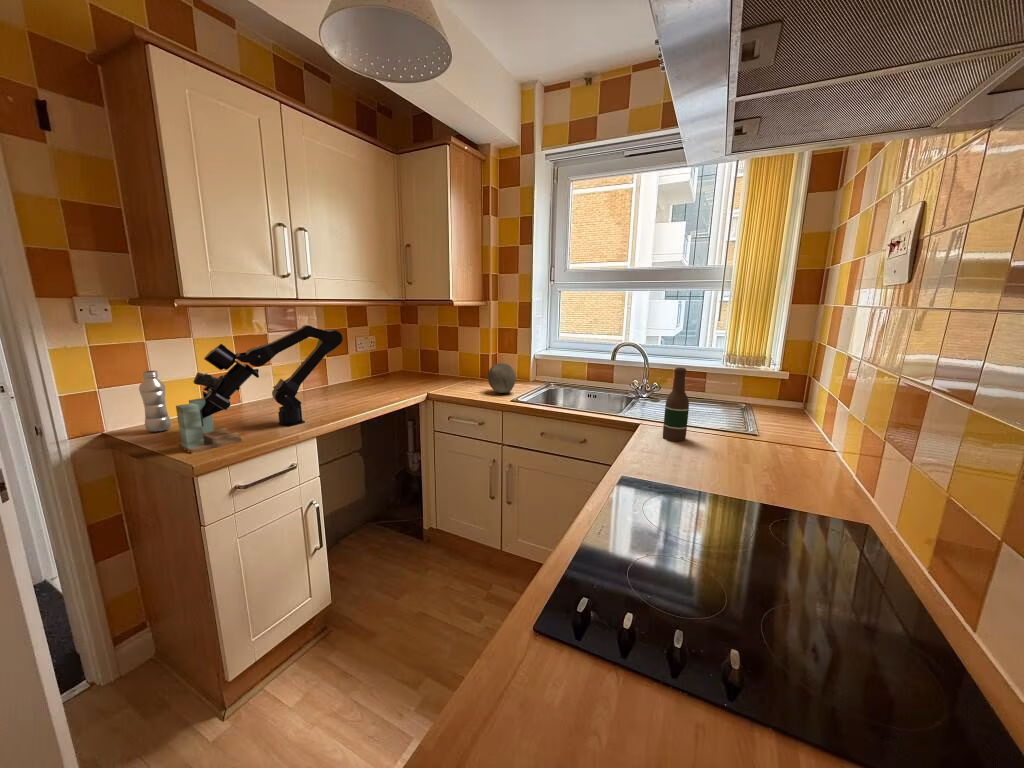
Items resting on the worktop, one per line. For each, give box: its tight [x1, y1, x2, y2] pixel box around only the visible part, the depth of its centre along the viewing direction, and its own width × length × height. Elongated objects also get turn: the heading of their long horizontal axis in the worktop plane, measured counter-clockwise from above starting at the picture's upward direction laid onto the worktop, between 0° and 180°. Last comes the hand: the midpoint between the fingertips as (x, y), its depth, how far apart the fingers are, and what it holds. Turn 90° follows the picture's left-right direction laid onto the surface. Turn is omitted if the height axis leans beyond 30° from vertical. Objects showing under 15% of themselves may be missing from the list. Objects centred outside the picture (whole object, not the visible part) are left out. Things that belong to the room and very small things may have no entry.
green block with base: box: [175, 403, 242, 454], centre depth 123 cm, size 13×9×13 cm
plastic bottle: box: [138, 370, 171, 433], centre depth 133 cm, size 6×7×20 cm
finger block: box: [188, 397, 214, 433], centre depth 129 cm, size 5×4×12 cm
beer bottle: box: [662, 367, 690, 443], centre depth 135 cm, size 8×8×24 cm
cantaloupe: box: [487, 363, 516, 394], centre depth 200 cm, size 14×14×15 cm
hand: (195, 417), depth 129 cm, fingers open, 6 cm apart
